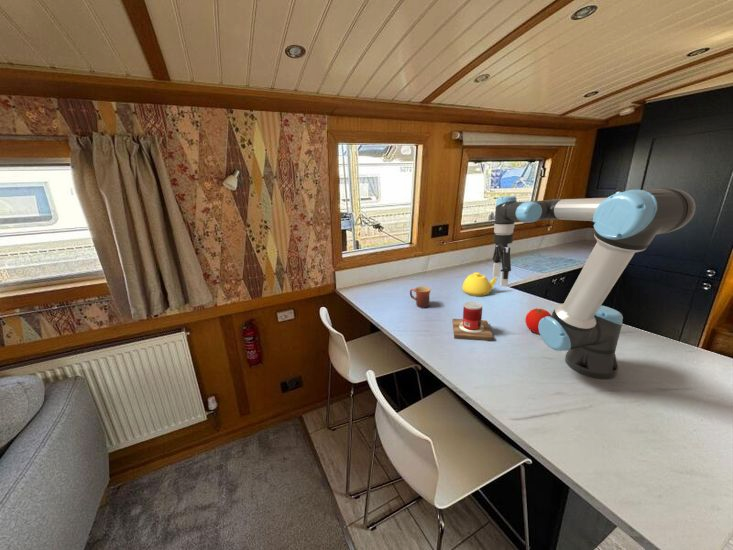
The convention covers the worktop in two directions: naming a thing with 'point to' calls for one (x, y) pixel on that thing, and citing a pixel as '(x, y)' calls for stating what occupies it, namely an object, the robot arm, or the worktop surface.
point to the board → (472, 331)
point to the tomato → (535, 318)
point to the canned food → (472, 315)
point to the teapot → (477, 285)
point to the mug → (421, 296)
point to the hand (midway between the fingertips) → (499, 280)
